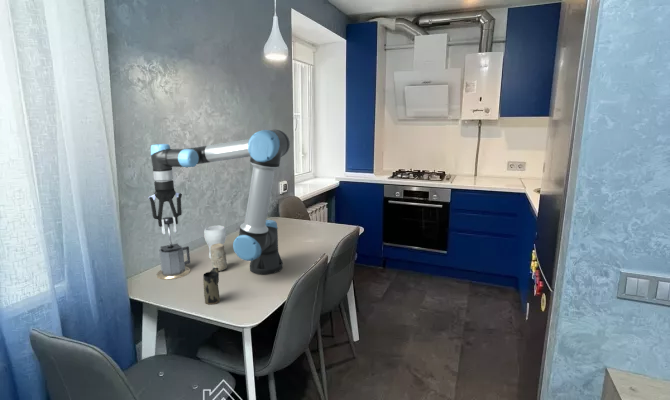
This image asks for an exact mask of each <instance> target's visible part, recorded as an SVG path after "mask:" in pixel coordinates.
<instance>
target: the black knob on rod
mask: <svg viewBox="0 0 670 400" xmlns="http://www.w3.org/2000/svg"><path fill="white" fill-rule="evenodd" d="M173 217H174V216H166V217H163V218H162V219H164V225H166V226H167V235H168V243H169V244H168V245H170V248H172V244H173V243H172V233H171V226H170V225H173V224H172V223H173ZM171 252H172V251H171Z"/></svg>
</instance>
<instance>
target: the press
mask: <svg viewBox="0 0 670 400" xmlns="http://www.w3.org/2000/svg"><path fill="white" fill-rule="evenodd" d="M171 251H172V252H171ZM184 251H186V261H185V256H184V254H185V253H184ZM158 252H159V259H160V260H159V262H160V268H161V270H158V271H157V272H156V278H158V279H159V280H174V279H175V280H176V279H179V278H183V277H185V276H187V275H189V274H190V273H191V268H190V267H188V266H186V265H190V264H191V255H190V246H182V245H180V244H178V243H172V248H170V244H168V245H167V244H166V245H163V246H160V248H159V249H158Z"/></svg>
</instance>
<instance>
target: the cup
mask: <svg viewBox="0 0 670 400" xmlns="http://www.w3.org/2000/svg"><path fill="white" fill-rule="evenodd" d="M203 236H204V240H205V243H206V244H207V246H208V249H209V251H208V252H209V253H208V258H209V259H211V253H210V247H211V246H212V245H214V244H218V243H221V244H223V245H224V244H225V242H226V239H227V231H226V227H225V226H224V225H210V226H206V227H205V228H204V232H203ZM224 246H225V245H224Z"/></svg>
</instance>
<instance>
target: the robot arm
mask: <svg viewBox="0 0 670 400" xmlns="http://www.w3.org/2000/svg"><path fill="white" fill-rule="evenodd" d="M290 147H291V141H290V137H289V136H288V135H287V134H286V132H284V131H283V130H280V129H262V130H258V131H256V132H255V133H253V134H251V136H250V138H247V139H241V140H234V141H228V142H222V143H215V144H210V145H203V146H201V145H200V146H196V147H188V148H187V147H186V148H174V149H173V148H171V147H170V144H168V143H157V144H151V145H150V157H151V164H152V173H153V175H152V176H153V180H154V183H153V184H154V194H153V195H149V196H148V197H147V198H148V200H149V202H150V207H151V212H152V218H153V219H154V220H157V222H158V227H161V233H162V234H163V235H166V229H165V228H166V227H165V224H164V219H163V218H162V217H163V211H164V210H163V209H164V204H165V203H166V202H168V203H169V207H170V209H171V212H172V217H173V223H172V224H171V225H172V231H173V233H177V225H178V224H179V219H178V217H179V216H180V217H181V216H182V215H183V214H182V201H181V200H182V196H183V194H182V193H180V192H176V190H175V185H174V184H175V182H174V180H173V179H174V175H173V168H194V167H196V166H197V165H201V164H209V163H214V162H220V161H228V160H235V159H241V158H249V157H250V160H249V163H250V165H252V172H251V173H252V174H251V179H250V185H249V191H248V192H249V193H248V199H247V205H246V211H245V217H244V222H243V223H241V224H240V226H239V232H238V236H237V237H236V236H235V237H236V238H235V239H234V240H233V242H232V249H233V252H234V253H235V254H236V256H237V258H239V259H240V260H243V261H246V262H249V263H250V264H249V270H250V271H249V272H250V273H252V274H256V275H271V274H275V273H278V272H280V271H281V270H283V267H284V265H283V260H282V257H281V255H280V252H279V238H278V237H279V234H278V231H279V230H278V229H279V228H278V223H277V221H276V220H273V219H267V217H268V211H269V206H270V202H271V201H270V200H271V193H272V190H273V189H272V188H273V182H274V177H275V171H276V170H277V169H278V168H280V165H281V159H282V158H283V156H285V155H286V154H287V153H288V152H289V150H290ZM174 197H175V198H176V207H175V204H174V201H173V200H174ZM156 199H157V200H158V208H157V209H158V211H157V209H156V202H155V200H156Z"/></svg>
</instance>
